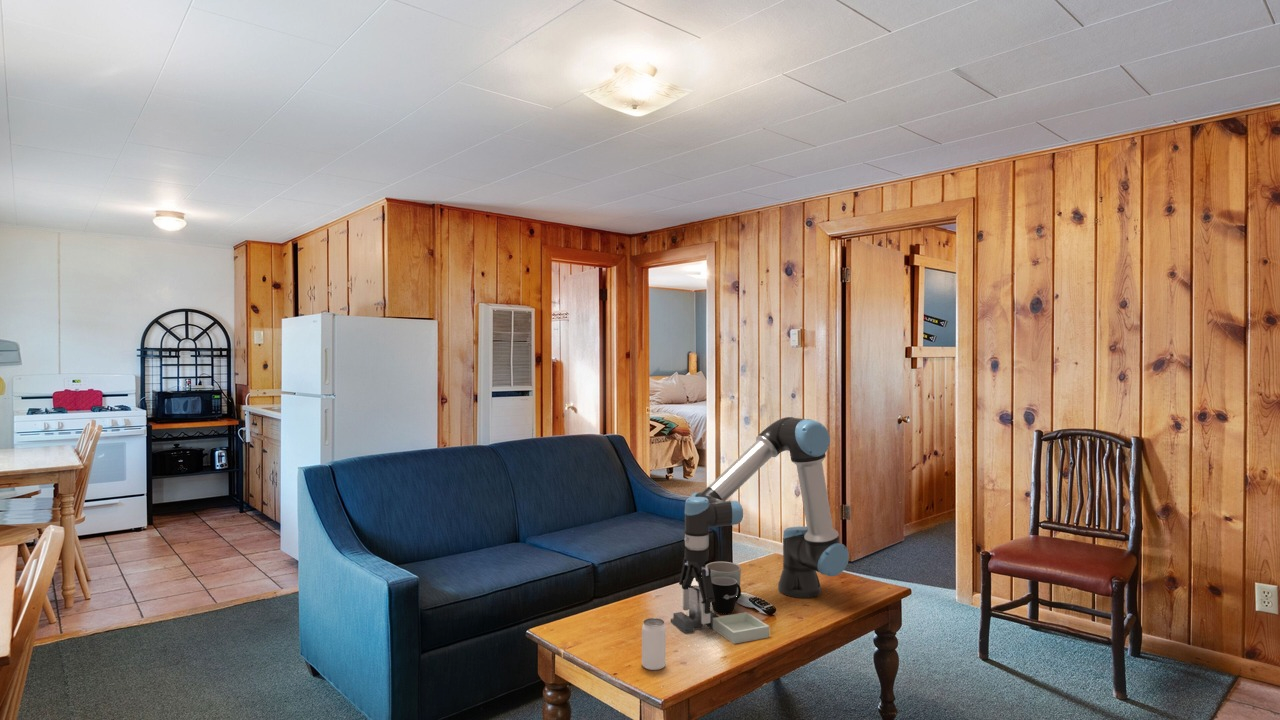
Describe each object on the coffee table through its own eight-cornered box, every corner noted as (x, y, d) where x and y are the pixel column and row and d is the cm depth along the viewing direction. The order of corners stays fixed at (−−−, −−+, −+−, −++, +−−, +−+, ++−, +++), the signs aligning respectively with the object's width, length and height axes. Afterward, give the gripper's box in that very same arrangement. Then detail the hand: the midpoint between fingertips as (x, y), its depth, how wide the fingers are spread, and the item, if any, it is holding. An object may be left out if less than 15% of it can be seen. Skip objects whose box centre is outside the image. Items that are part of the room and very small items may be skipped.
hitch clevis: (703, 616, 223) (703, 605, 223) (719, 627, 214) (719, 616, 214) (670, 622, 219) (670, 611, 219) (685, 633, 210) (685, 622, 209)
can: (651, 673, 183) (651, 628, 183) (637, 664, 188) (637, 620, 188) (670, 666, 187) (670, 622, 187) (655, 658, 192) (656, 615, 192)
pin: (699, 622, 219) (699, 584, 219) (706, 627, 214) (706, 589, 214) (686, 624, 217) (686, 586, 217) (693, 629, 213) (693, 591, 213)
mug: (721, 618, 222) (722, 586, 222) (704, 609, 230) (704, 579, 230) (749, 610, 229) (749, 580, 229) (731, 602, 236) (731, 573, 236)
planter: (740, 605, 234) (740, 573, 234) (703, 602, 236) (704, 571, 236) (741, 592, 246) (741, 562, 246) (706, 590, 249) (707, 560, 249)
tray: (746, 622, 219) (746, 612, 219) (769, 637, 207) (769, 626, 207) (712, 628, 214) (712, 617, 214) (733, 643, 202) (733, 632, 202)
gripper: (669, 539, 225) (668, 605, 225) (704, 558, 203) (704, 632, 203) (689, 536, 228) (688, 601, 228) (726, 556, 206) (726, 628, 206)
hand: (696, 616), depth 216 cm, fingers open, 12 cm apart
